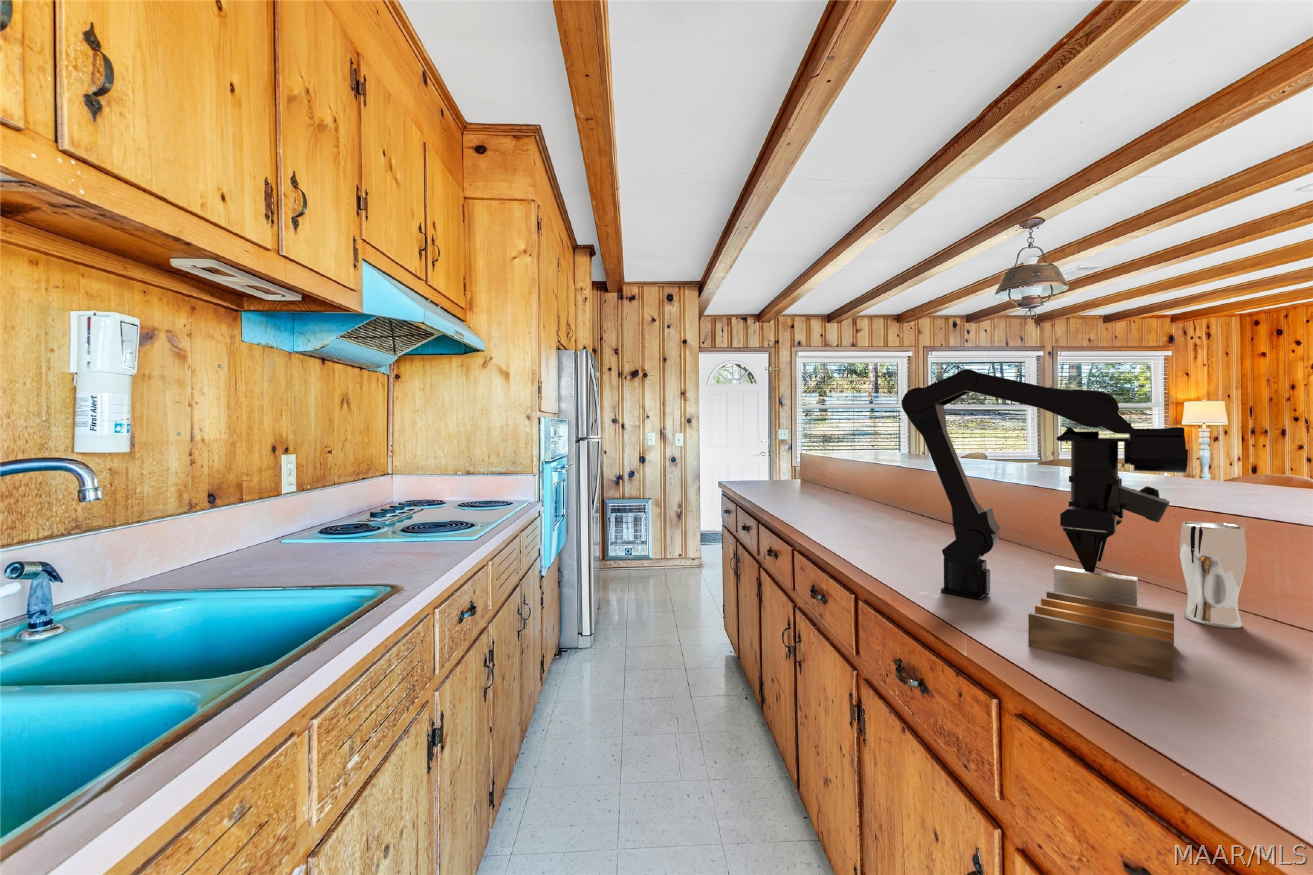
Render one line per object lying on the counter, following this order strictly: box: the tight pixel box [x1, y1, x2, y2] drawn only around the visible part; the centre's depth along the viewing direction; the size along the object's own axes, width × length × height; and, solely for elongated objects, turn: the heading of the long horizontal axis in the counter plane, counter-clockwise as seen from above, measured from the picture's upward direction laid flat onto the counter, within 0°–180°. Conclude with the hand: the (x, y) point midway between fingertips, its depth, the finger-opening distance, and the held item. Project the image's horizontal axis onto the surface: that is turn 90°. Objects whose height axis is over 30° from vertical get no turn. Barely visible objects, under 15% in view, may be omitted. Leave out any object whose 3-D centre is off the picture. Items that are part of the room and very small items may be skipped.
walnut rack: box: [1027, 590, 1175, 682], centre depth 70 cm, size 14×14×4 cm
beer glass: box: [1179, 520, 1248, 629], centre depth 78 cm, size 7×7×15 cm
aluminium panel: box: [1053, 565, 1139, 607], centre depth 81 cm, size 10×2×7 cm, turn 44°
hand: (1093, 566), depth 81 cm, fingers open, 9 cm apart
